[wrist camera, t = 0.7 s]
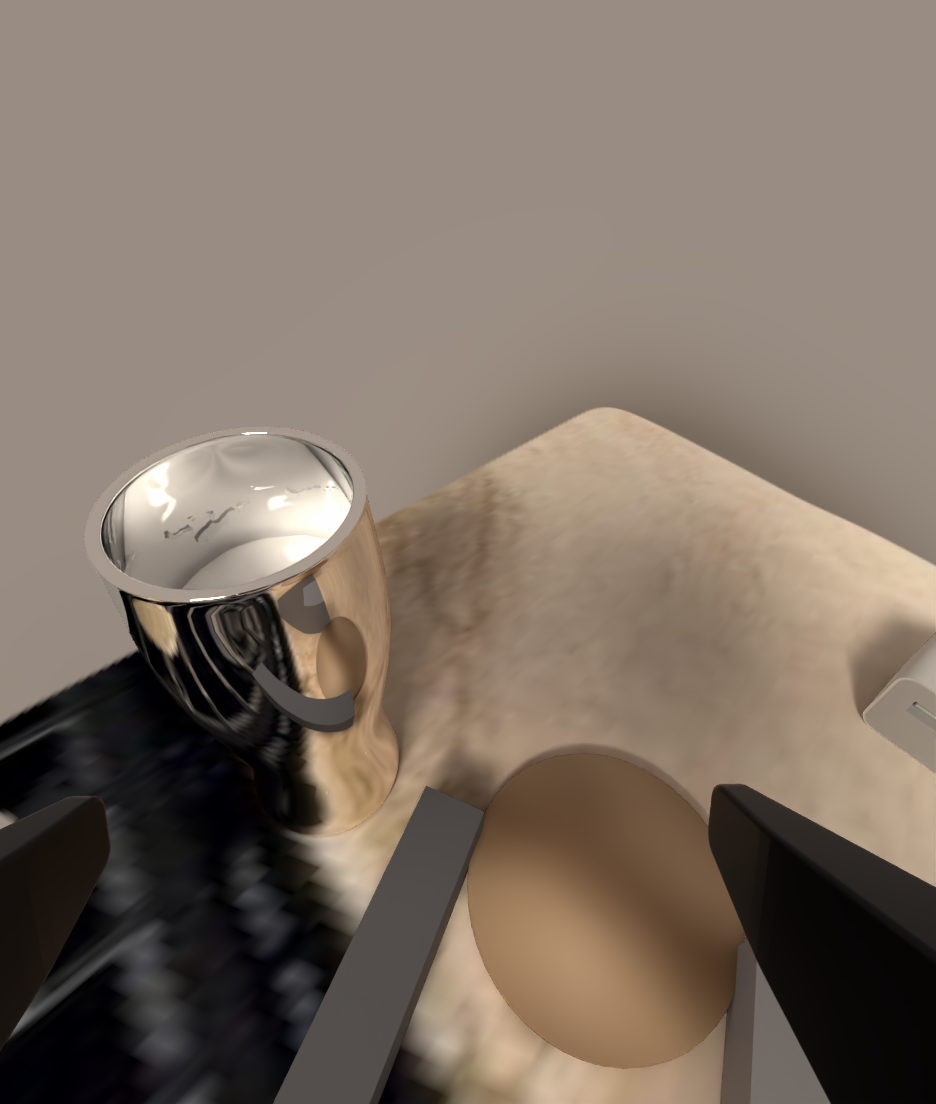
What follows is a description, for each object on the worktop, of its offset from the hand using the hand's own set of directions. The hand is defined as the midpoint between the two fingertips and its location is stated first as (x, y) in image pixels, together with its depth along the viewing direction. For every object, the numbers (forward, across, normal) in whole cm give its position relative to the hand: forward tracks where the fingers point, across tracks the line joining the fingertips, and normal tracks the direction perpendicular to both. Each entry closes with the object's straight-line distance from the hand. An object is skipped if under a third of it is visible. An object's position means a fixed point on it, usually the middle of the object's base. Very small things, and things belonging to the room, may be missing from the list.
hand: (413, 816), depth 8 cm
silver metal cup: (+15, +5, +9) cm, 18 cm away
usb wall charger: (+17, -24, +8) cm, 30 cm away
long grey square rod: (+8, +2, +13) cm, 15 cm away
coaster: (+11, -6, +11) cm, 17 cm away
